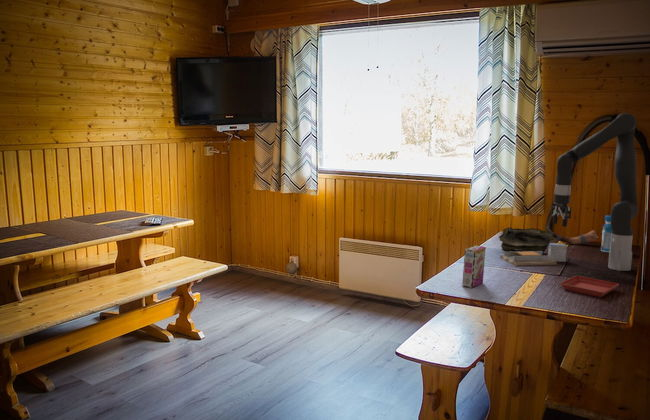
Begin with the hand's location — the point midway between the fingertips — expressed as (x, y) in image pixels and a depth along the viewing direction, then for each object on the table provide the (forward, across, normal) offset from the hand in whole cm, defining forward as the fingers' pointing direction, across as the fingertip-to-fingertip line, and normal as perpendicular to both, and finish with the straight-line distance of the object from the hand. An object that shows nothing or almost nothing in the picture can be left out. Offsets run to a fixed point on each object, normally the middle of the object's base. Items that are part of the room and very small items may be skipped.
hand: (559, 225), depth 284 cm
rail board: (+19, 0, +16) cm, 25 cm away
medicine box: (+19, 0, 0) cm, 19 cm away
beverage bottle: (+19, +17, -42) cm, 49 cm away
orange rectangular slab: (+15, 0, +16) cm, 22 cm away
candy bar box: (+19, -37, +62) cm, 75 cm away
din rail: (+17, 0, +16) cm, 23 cm away
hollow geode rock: (+19, +19, +7) cm, 28 cm away
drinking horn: (+19, +37, -32) cm, 52 cm away
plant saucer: (+19, -49, +15) cm, 55 cm away
